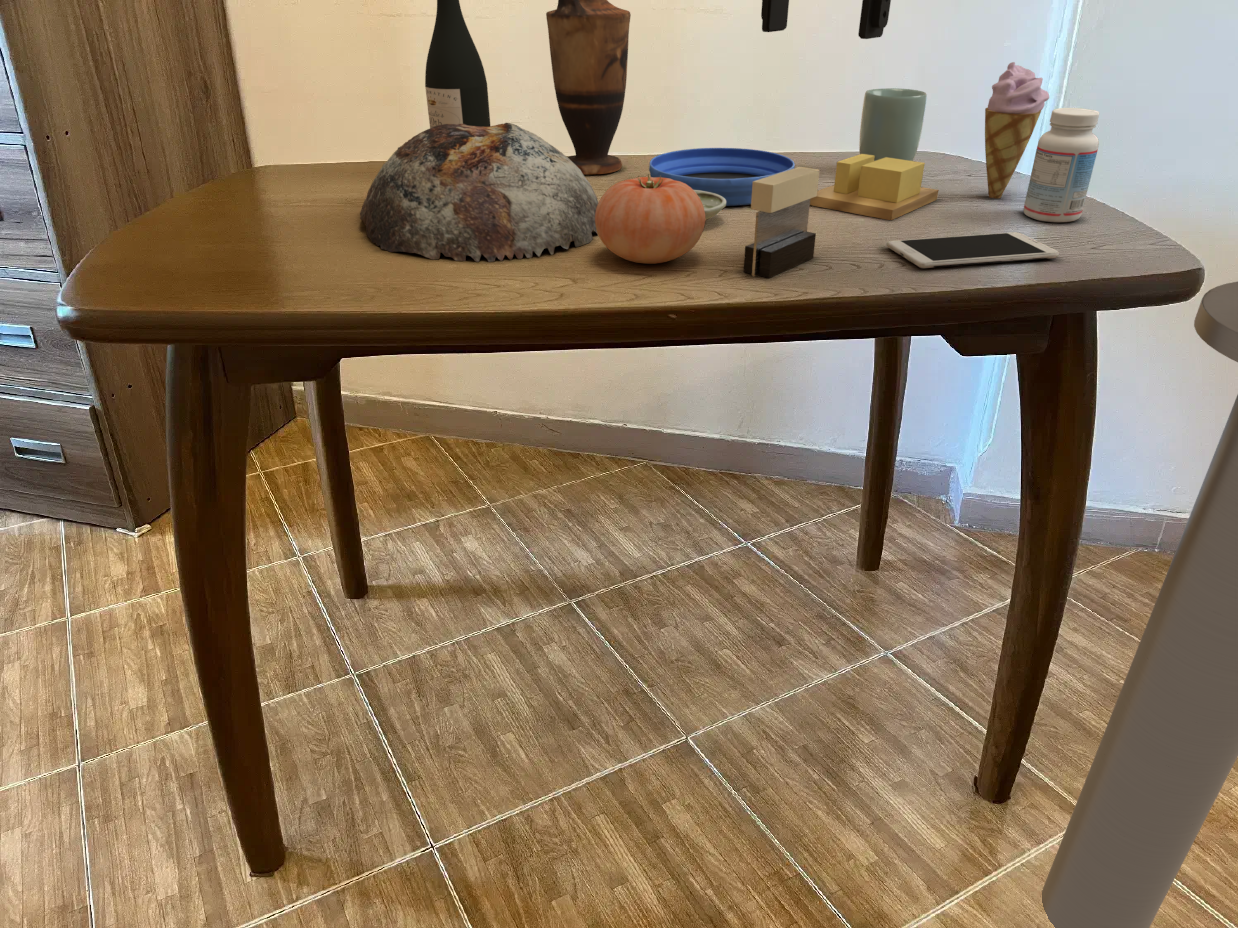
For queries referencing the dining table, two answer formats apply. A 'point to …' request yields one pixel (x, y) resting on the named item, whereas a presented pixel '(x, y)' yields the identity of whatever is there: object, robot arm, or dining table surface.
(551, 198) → the bread
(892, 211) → the board
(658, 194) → the tomato
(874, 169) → the butter block
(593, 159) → the vase
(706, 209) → the saucer
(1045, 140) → the pill bottle
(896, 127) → the cup
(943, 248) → the smartphone
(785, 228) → the knife
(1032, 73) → the ice cream cone
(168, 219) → the dining table surface
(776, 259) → the knife holder
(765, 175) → the bowl
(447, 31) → the wine bottle
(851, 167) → the butter slice
